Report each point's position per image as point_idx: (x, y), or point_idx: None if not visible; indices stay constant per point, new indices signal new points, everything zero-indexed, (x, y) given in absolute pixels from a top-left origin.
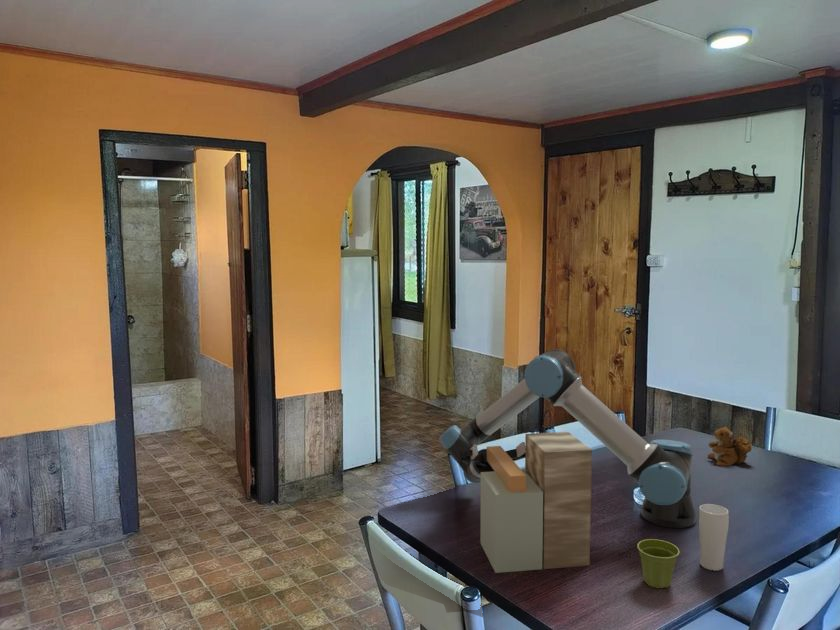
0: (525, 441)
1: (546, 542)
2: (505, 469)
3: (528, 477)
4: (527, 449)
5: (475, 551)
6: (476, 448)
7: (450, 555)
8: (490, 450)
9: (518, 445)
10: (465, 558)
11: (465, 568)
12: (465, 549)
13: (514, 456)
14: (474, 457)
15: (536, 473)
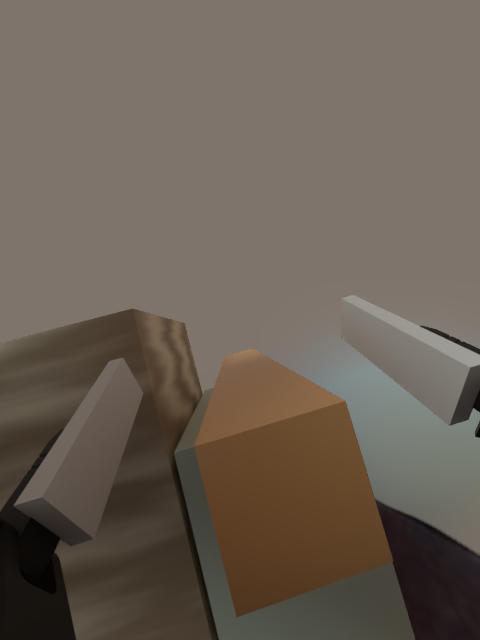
0: (140, 338)
1: None
2: (255, 351)
3: (196, 417)
4: (155, 359)
5: (413, 613)
6: (345, 314)
7: (472, 571)
8: (296, 377)
9: (90, 416)
10: (416, 558)
11: (388, 513)
12: (458, 628)
13: (67, 618)
14: (398, 380)
15: (188, 385)
